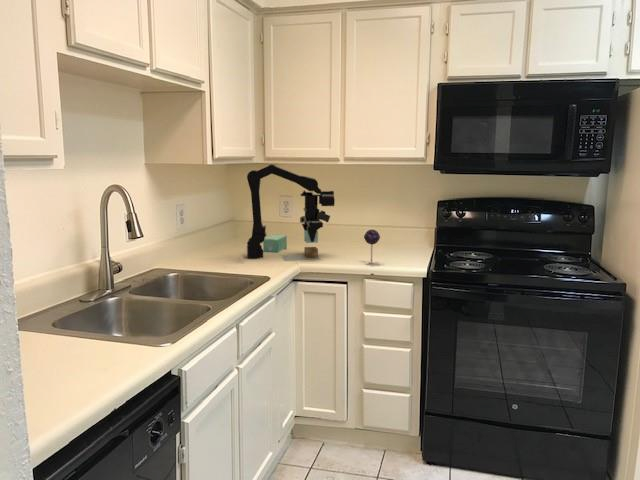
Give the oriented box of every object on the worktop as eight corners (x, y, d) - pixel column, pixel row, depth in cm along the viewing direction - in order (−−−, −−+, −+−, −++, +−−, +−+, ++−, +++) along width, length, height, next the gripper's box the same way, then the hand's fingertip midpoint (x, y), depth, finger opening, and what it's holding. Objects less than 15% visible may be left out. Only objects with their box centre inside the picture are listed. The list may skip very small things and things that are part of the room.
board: (285, 263, 232) (285, 260, 232) (280, 257, 244) (280, 255, 244) (321, 261, 237) (321, 259, 236) (314, 255, 248) (314, 253, 248)
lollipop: (381, 263, 233) (382, 229, 231) (375, 266, 228) (376, 231, 225) (367, 261, 237) (368, 227, 234) (360, 264, 231) (361, 229, 228)
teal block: (306, 242, 237) (307, 231, 236) (304, 241, 242) (304, 230, 241) (317, 242, 238) (317, 231, 237) (315, 240, 243) (315, 229, 242)
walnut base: (307, 258, 238) (307, 249, 238) (304, 255, 243) (304, 247, 242) (317, 257, 240) (317, 248, 239) (315, 255, 244) (315, 246, 244)
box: (262, 254, 252) (262, 238, 251) (272, 249, 265) (272, 234, 264) (277, 255, 251) (277, 239, 249) (286, 249, 263) (286, 234, 262)
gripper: (334, 208, 231) (334, 243, 233) (322, 203, 248) (322, 236, 251) (309, 208, 228) (309, 244, 230) (299, 204, 245) (299, 237, 248)
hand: (310, 240), depth 240 cm, fingers closed on teal block, 5 cm apart
